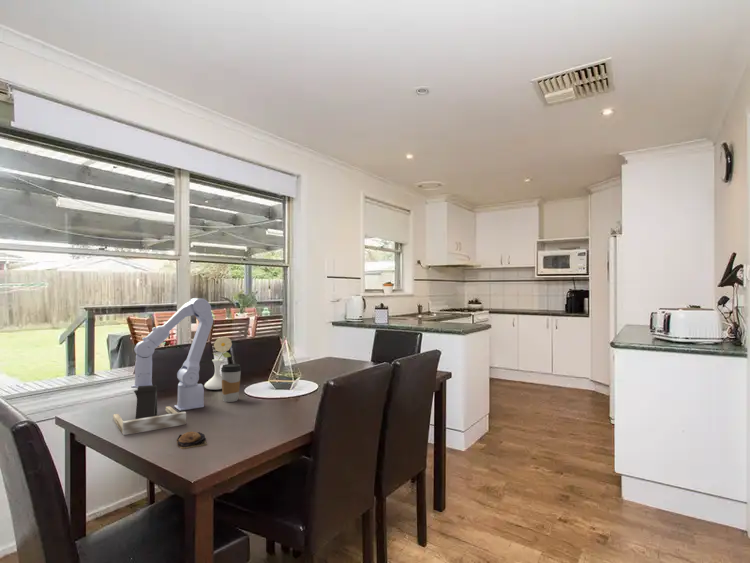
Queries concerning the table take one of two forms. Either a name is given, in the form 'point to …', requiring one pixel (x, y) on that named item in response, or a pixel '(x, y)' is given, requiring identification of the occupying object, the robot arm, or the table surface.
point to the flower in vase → (219, 363)
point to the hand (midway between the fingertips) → (142, 408)
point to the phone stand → (146, 401)
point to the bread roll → (191, 440)
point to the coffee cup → (230, 382)
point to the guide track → (151, 422)
